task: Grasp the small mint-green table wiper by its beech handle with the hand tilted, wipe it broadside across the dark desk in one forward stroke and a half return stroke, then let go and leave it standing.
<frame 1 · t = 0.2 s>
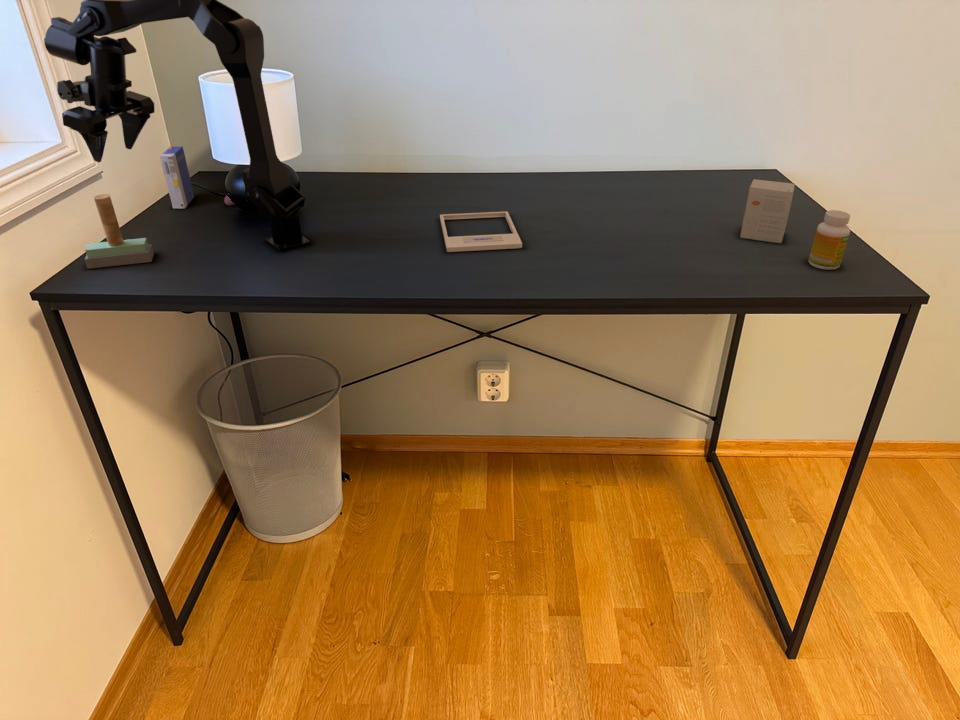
hand: (113, 155, 134), 15 cm above the table, tool pointing down, fingers open, 9 cm apart
video game controller: (246, 200, 158), on the table
small box: (761, 237, 138), on the table
photo frame: (479, 233, 140), on the table
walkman: (184, 203, 156), on the table
supplement bottle: (823, 265, 126), on the table
wiper: (121, 261, 129), on the table
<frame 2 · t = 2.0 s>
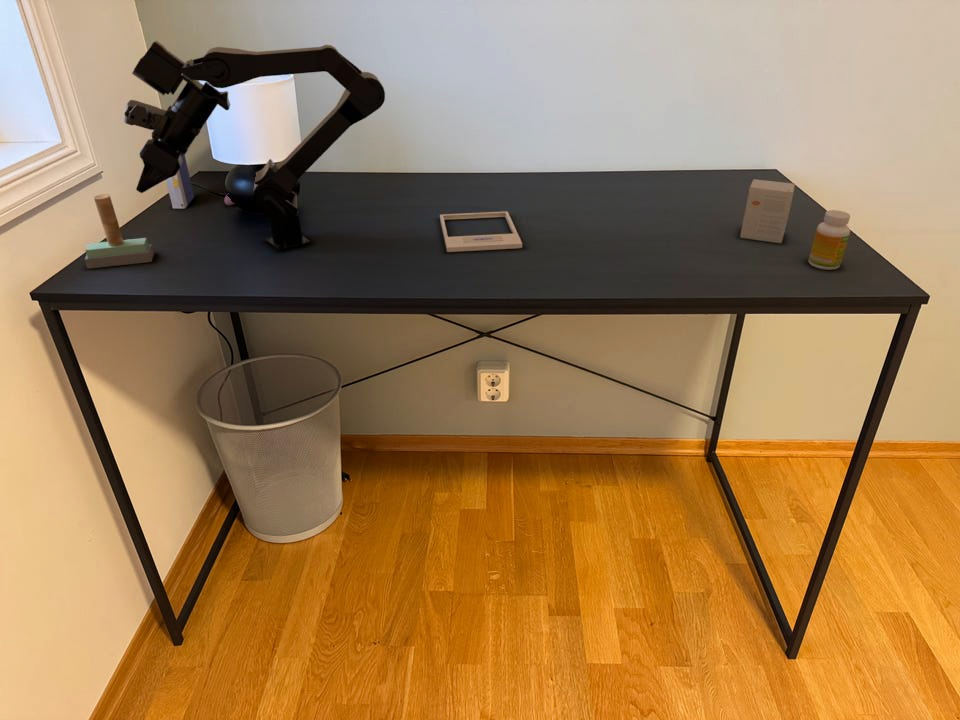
hand: (143, 183, 124), 14 cm above the table, tool tilted 40°, fingers open, 9 cm apart
nothing on the table moved.
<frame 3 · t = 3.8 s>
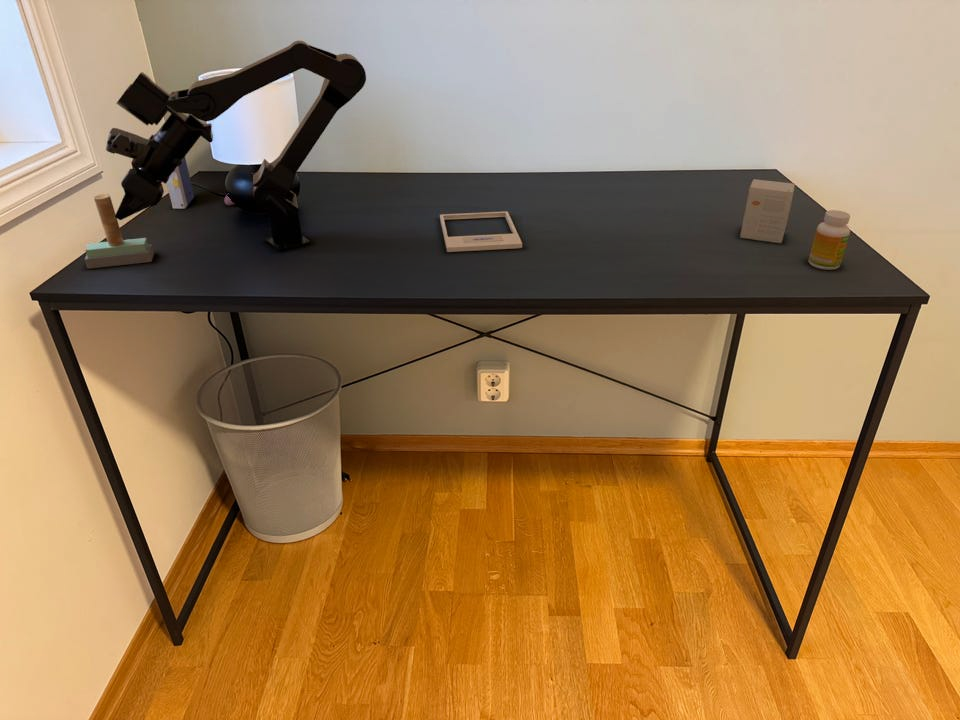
hand: (121, 209, 124), 10 cm above the table, tool tilted 45°, fingers open, 9 cm apart
nothing on the table moved.
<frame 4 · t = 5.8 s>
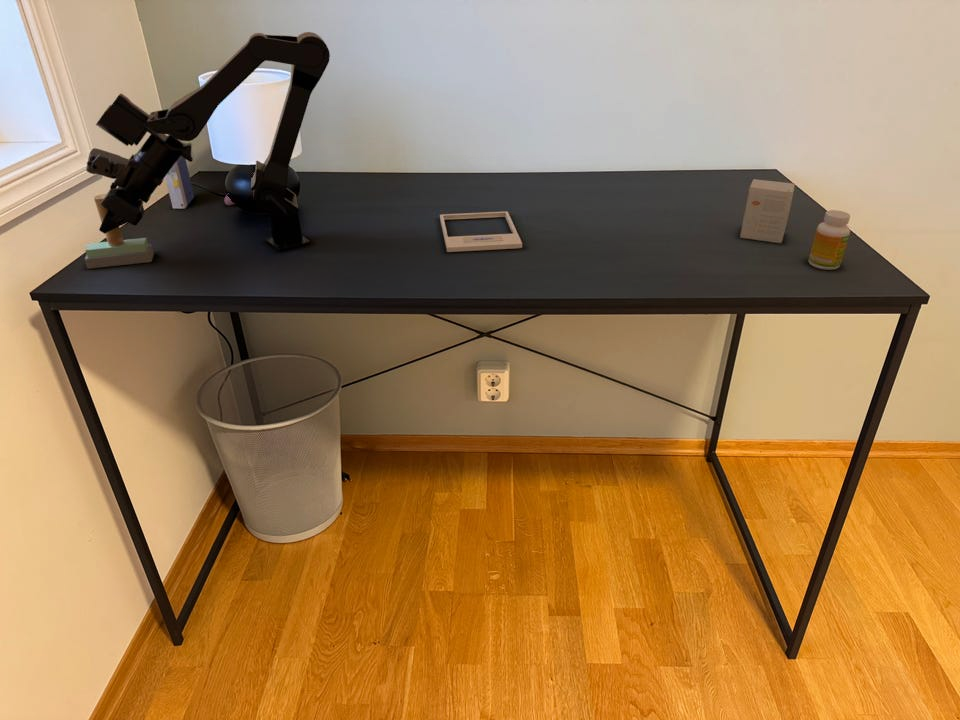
hand: (103, 228, 125), 7 cm above the table, tool tilted 45°, fingers closed on wiper, 2 cm apart
wiper: (121, 261, 129), on the table, touching gripper
everything else where it was.
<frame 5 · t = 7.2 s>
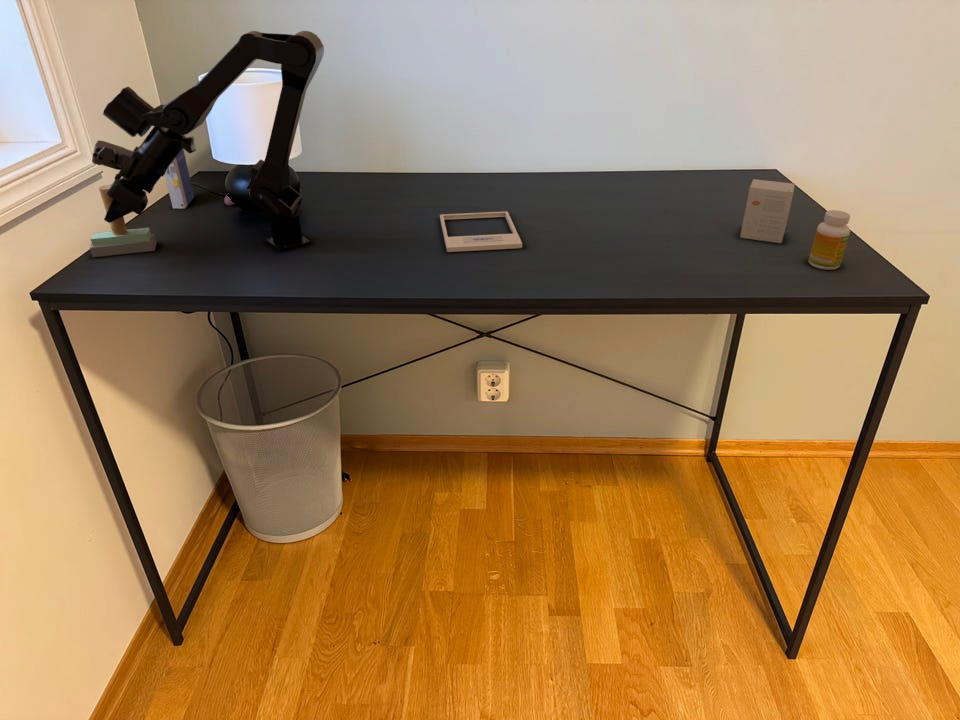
hand: (107, 218, 129), 7 cm above the table, tool tilted 45°, fingers closed on wiper, 2 cm apart
wiper: (125, 250, 133), on the table, touching gripper
everything else where it was.
when the fingers open (7 cm above the table, at t = 9.1 s): wiper stays where it is, on the table.
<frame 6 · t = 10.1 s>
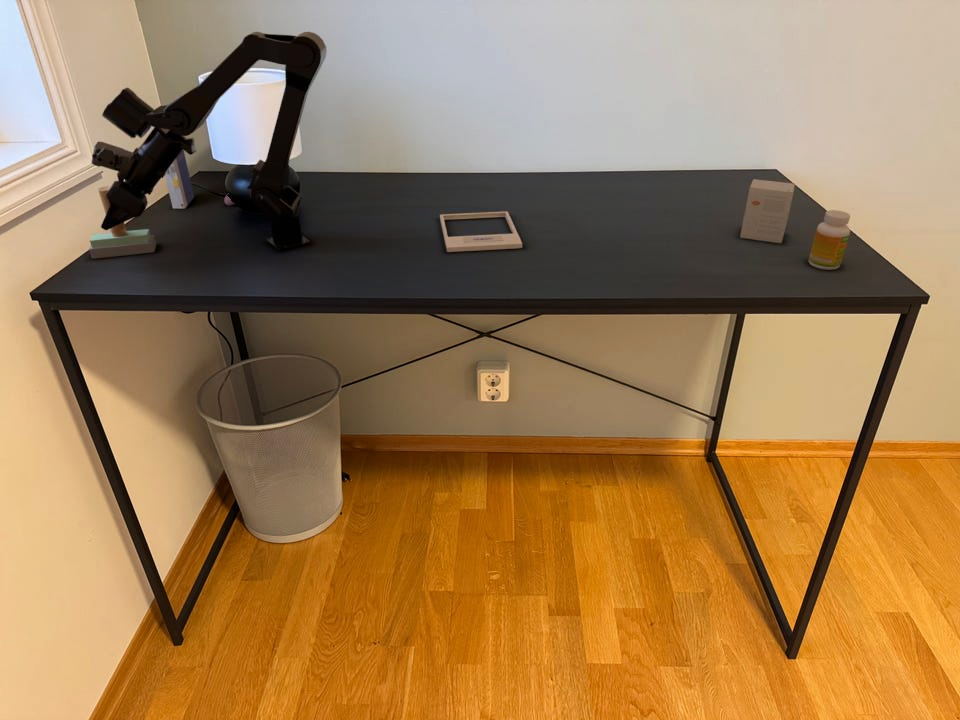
hand: (107, 220, 129), 7 cm above the table, tool tilted 45°, fingers open, 9 cm apart
wiper: (124, 251, 133), on the table
everything else where it was.
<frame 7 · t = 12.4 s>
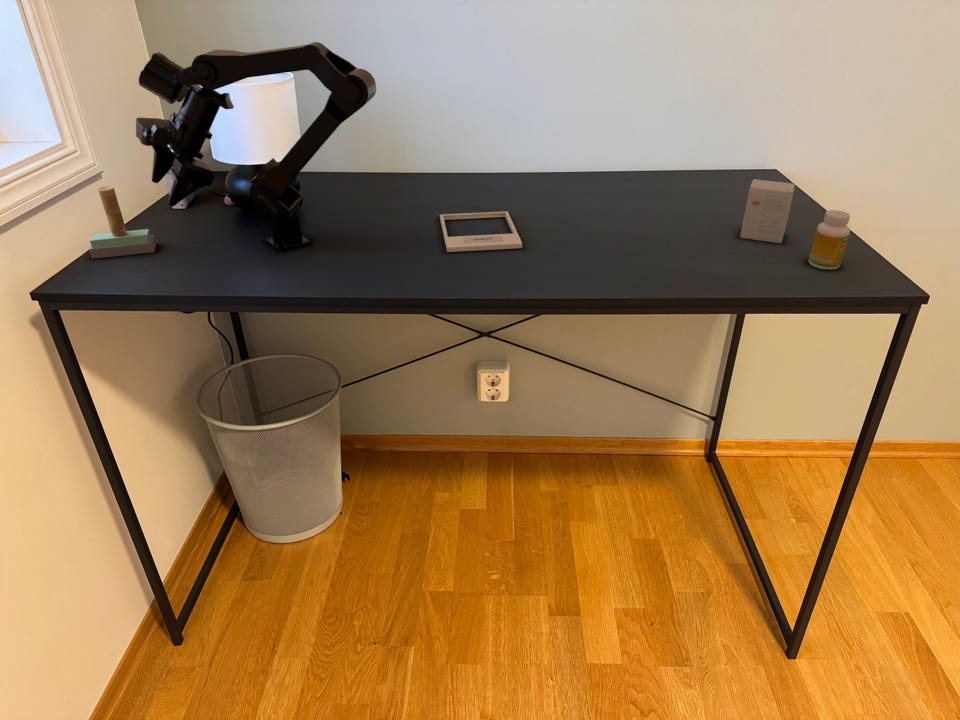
hand: (162, 193, 129), 11 cm above the table, tool tilted 35°, fingers open, 9 cm apart
nothing on the table moved.
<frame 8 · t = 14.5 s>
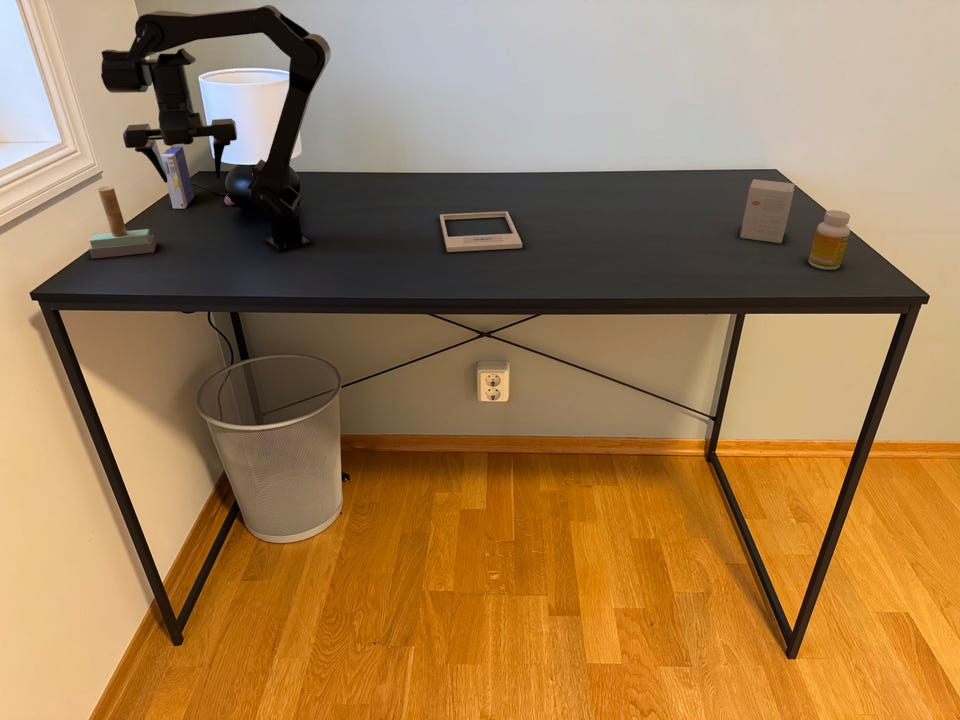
hand: (192, 179, 128), 13 cm above the table, tool pointing down, fingers open, 9 cm apart
nothing on the table moved.
at the end: wiper 0.1 cm from the target spot, on the table; wiper tilted 0°; the gripper is holding nothing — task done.
